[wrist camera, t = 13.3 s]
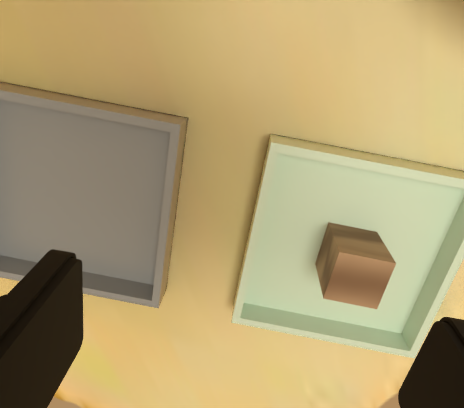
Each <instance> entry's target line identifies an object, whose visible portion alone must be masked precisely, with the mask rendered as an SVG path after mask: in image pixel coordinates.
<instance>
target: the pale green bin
mask: <svg viewBox="0 0 464 408" xmlns="http://www.w3.org/2000/svg"><path fill="white" fill-rule="evenodd" d="M328 222H330V223H335V224H340V225H345V226H350V227H355V228H360V229H365V230H370V231H375V232H377V233H378V234H379V236H380V238H381V239H382V241H383V242H384V244H385V246H386V247H387V249H388V251H389V252H390V254H391V256H392V257H393V259H394V261H395V262H396V265H395V268H394V270H393V272H392V275H391V277H390V280H389V282H388V284H387V287H386V289H385V292H384V294H383V296H382V299H381V301H380V303H379V306H378V308H377V309H373V308H368V307H363V306H358V305H353V304H348V303H343V302H338V301H333V300H328V299H323V295H322V291H321V287H320V282H319V278H318V274H317V269H316V265H315V263H316V260H317V256H318V253H319V250H320V247H321V244H322V241H323V238H324V234H325V231H326V228H327V225H328ZM463 259H464V171H461V170H456V169H451V168H446V167H440V166H435V165H430V164H425V163H420V162H414V161H409V160H404V159H399V158H394V157H388V156H383V155H378V154H373V153H368V152H363V151H357V150H352V149H347V148H342V147H337V146H331V145H326V144H321V143H316V142H311V141H305V140H300V139H295V138H290V137H285V136H279V135H274V134H270V139H269V144H268V148H267V153H266V157H265V162H264V166H263V171H262V176H261V180H260V185H259V189H258V194H257V199H256V203H255V208H254V212H253V217H252V221H251V226H250V231H249V235H248V240H247V244H246V249H245V254H244V258H243V263H242V267H241V272H240V276H239V281H238V286H237V290H236V295H235V299H234V305H233V314H232V322H231V323H237V324H242V325H247V326H252V327H257V328H262V329H267V330H272V331H277V332H283V333H288V334H293V335H298V336H303V337H308V338H313V339H318V340H323V341H329V342H334V343H339V344H344V345H349V346H354V347H359V348H364V349H369V350H374V351H380V352H385V353H390V354H395V355H400V356H405V357H410V358H415V357H416V355H417V353H418V351H419V349H420V346H421V344H422V342H423V340H424V338H425V336H426V334H427V332H428V330H429V328H430V326H431V324H432V322H433V320H434V318H435V316H436V314H437V312H438V310H439V308H440V306H441V304H442V302H443V300H444V298H445V296H446V293H447V291H448V289H449V287H450V285H451V283H452V281H453V279H454V277H455V275H456V273H457V271H458V269H459V267H460V265H461V263H462V261H463Z"/></svg>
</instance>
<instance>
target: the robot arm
mask: <svg viewBox="0 0 464 408" xmlns="http://www.w3.org/2000/svg"><path fill="white" fill-rule="evenodd" d="M82 341H83V275H82V261H81V260H80V259H76V255H75V253H73V252H67V251H61V250H55V249H51V250H50V251H48V252H47V253H46V254H45V255H44V256H43V258H42V259H41V260H40V261H39V262H38V263H37V264H36V265H35V266H34V267H33V268H32V269H31V270H30V271H29V272H28V273H27V274H26V275H25V276H24V278H23V279H22V280H21V281H20V282H19V283H18V284H17V285H16V286H15V287H14V288H13V289H12V290H11V291H10V292H9V293H8V294H7V295H3V296H1V297H0V408H47V407H48V405H49V403H50V402H51V400H52V398H53V396H54V394H55V393H56V391H57V389H58V387H59V386H60V384H61V382H62V380H63V378H64V377H65V375H66V373H67V371H68V369H69V368H70V366H71V364H72V362H73V361H74V359H75V357H76V355H77V353H78V352H79V350H80V347H81V345H82ZM398 399H399V405H400V407H401V408H464V320H461V319H455V318H450V317H443V318H442V319H441V320H440V321H436V322H435V323H434V324H433V326H432V328H431V330H430V332H429V333H428V335H427V337H426V339H425V341H424V343H423V345H422V347H421V349H420V351H419V353H418V355H417V357H416V359H415V361H414V363H413V365H412V367H411V368H410V370H409V372H408V374H407V376H406V378H405V380H404V382H403V384H402V386H401V388H400V390H399V395H398Z"/></svg>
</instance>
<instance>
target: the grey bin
mask: <svg viewBox="0 0 464 408" xmlns="http://www.w3.org/2000/svg"><path fill="white" fill-rule="evenodd" d="M187 123H188V118H186V117H181V116H176V115H170V114H165V113H160V112H155V111H150V110H144V109H139V108H134V107H129V106H124V105H118V104H113V103H108V102H103V101H98V100H92V99H87V98H82V97H77V96H72V95H67V94H61V93H56V92H51V91H46V90H41V89H35V88H30V87H25V86H20V85H15V84H9V83H4V82H0V277H2V278H7V279H12V280H17V281H21V280H22V279H23V278H24V276H25V275H26V274H27V273H28V272H29V271H30V270H31V269H32V268H33V267H34V266H35V265H36V264H37V263H38V262H39V261H40V260H41V259H42V258H43V256H44V255H45V254H46V253H47V252H48V251H50V250H51V249H55V250H61V251H67V252H73V253H75V255H76V259H80V260H81V261H82V275H83V294H88V295H94V296H99V297H104V298H109V299H114V300H119V301H124V302H129V303H134V304H140V305H145V306H150V307H155V308H159V306H160V303H161V301H162V298H163V296H164V293H165V291H166V287H167V280H168V272H169V264H170V256H171V248H172V240H173V233H174V225H175V217H176V209H177V201H178V193H179V186H180V178H181V170H182V162H183V154H184V146H185V139H186V131H187Z"/></svg>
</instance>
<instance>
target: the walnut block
mask: <svg viewBox="0 0 464 408" xmlns="http://www.w3.org/2000/svg"><path fill="white" fill-rule="evenodd" d="M315 265H316V269H317V274H318V278H319V282H320V287H321V291H322V295H323V299H328V300H333V301H338V302H343V303H348V304H353V305H358V306H363V307H368V308H373V309H377V308H378V306H379V303H380V301H381V299H382V296H383V294H384V292H385V289H386V287H387V284H388V282H389V280H390V277H391V275H392V272H393V270H394V268H395V265H396V262H395V261H394V259H393V257H392V256H391V254H390V252H389V251H388V249H387V247H386V246H385V244H384V242H383V241H382V239H381V238H380V236H379V234H378V233H377V232H375V231H370V230H365V229H360V228H355V227H350V226H345V225H340V224H335V223H330V222H328V225H327V228H326V231H325V234H324V238H323V241H322V244H321V247H320V250H319V253H318V256H317V260H316V263H315Z"/></svg>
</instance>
